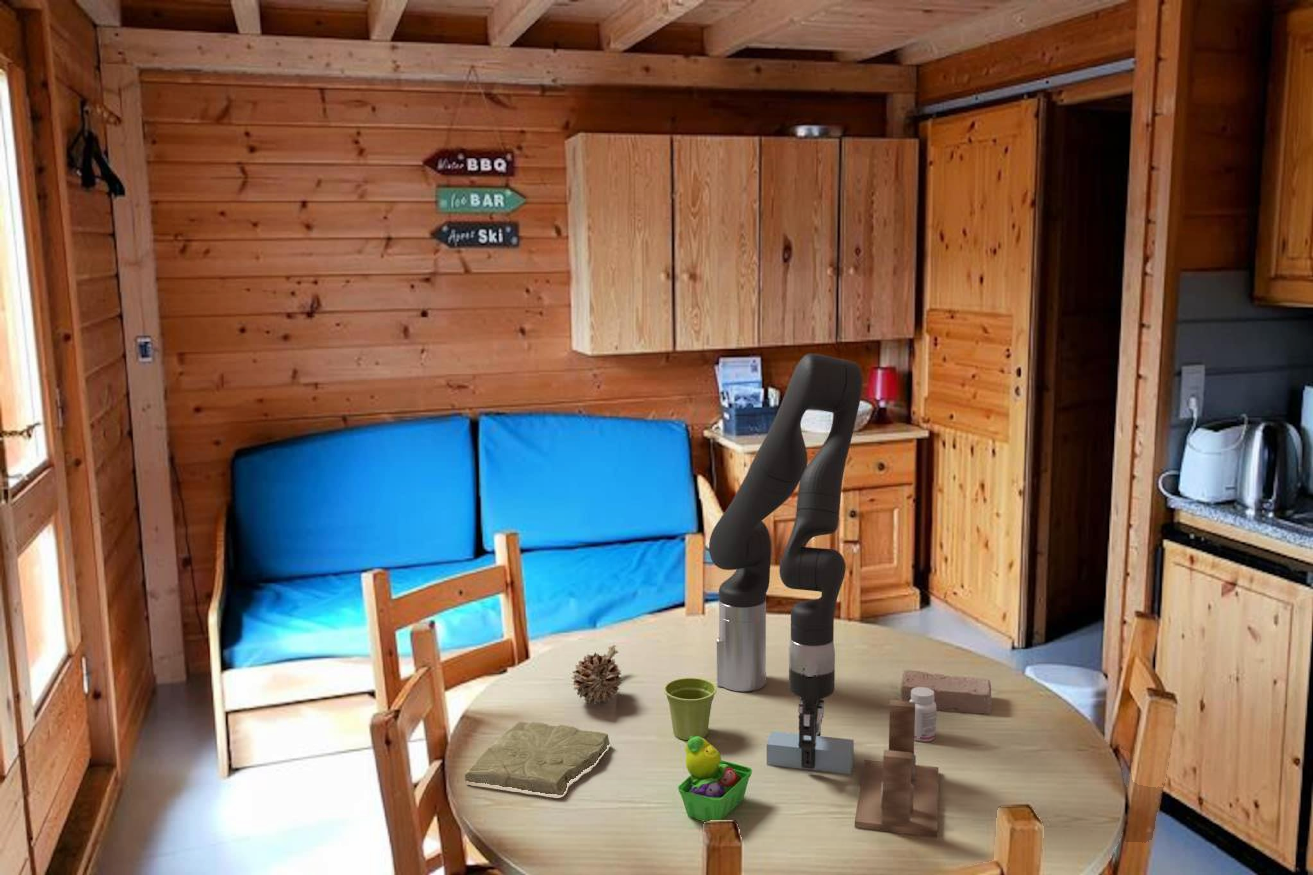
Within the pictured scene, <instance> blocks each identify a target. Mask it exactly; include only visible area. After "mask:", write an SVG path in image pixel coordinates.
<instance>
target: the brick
mask: <svg viewBox="0 0 1313 875" xmlns="http://www.w3.org/2000/svg"><path fill="white" fill-rule="evenodd" d="M901 676H902V677H901V683H900V701H906V702H909V701H910V700H911V690H912V689H913V688H916V687H925V688H929V689H931V690H933V691H934V702H935V703H936V711H945V712H960V713H968V714H969V713H970V714H986V715H990V714H991V712H992V705H993V704H992V685H991V679H989V678H984V677H981V678H979V677H976V678H975V677H972V676H964V675H963V676H958V675H953V676H948V675H945V674H940V673H930V672H927V671H921V670H914V669H904V670H903V673H902V675H901Z"/></svg>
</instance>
